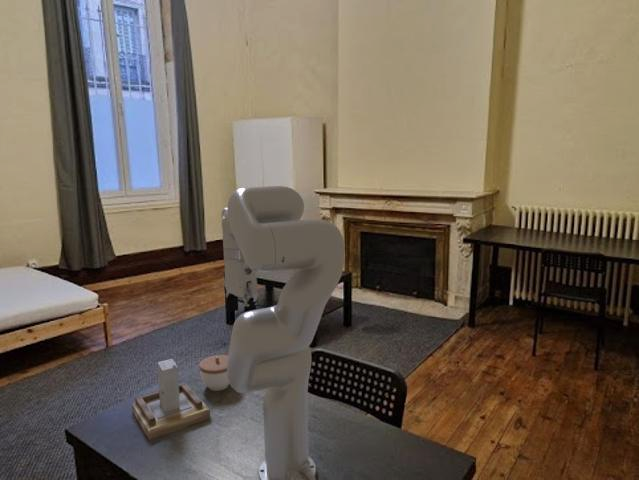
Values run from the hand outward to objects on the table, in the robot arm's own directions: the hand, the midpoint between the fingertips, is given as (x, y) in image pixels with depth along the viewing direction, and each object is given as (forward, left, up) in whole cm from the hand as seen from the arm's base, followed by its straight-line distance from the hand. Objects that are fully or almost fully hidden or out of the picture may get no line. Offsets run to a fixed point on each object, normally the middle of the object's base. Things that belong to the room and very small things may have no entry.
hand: (241, 315), depth 123 cm
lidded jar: (+15, +1, -27) cm, 31 cm away
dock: (+8, +18, -27) cm, 33 cm away
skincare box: (+8, +18, -24) cm, 31 cm away
